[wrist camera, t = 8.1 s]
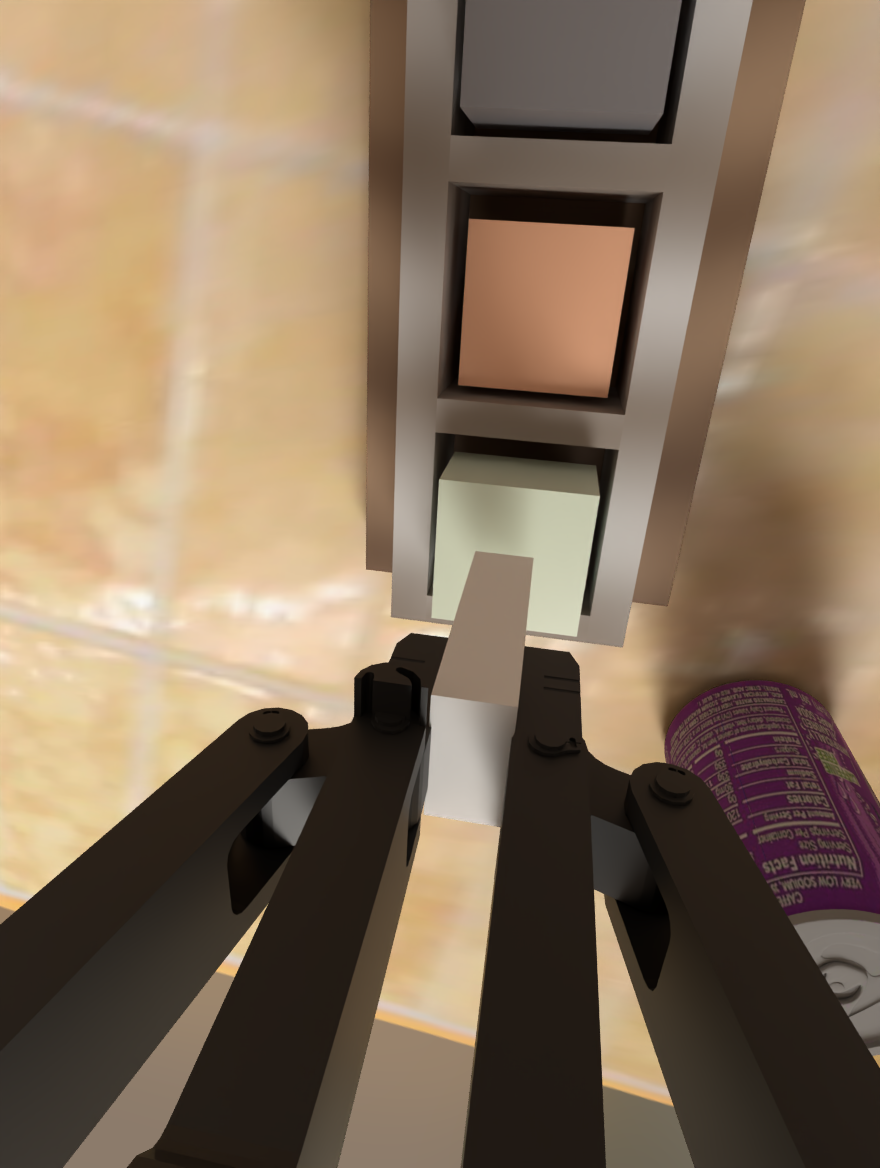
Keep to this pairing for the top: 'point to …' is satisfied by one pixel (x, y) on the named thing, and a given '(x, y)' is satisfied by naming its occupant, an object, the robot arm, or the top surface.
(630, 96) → the key charcoal
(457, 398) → the slotted block tray
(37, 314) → the top surface
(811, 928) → the beverage can
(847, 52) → the top surface
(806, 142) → the top surface
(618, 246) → the key terracotta
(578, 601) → the key sage
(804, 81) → the top surface
